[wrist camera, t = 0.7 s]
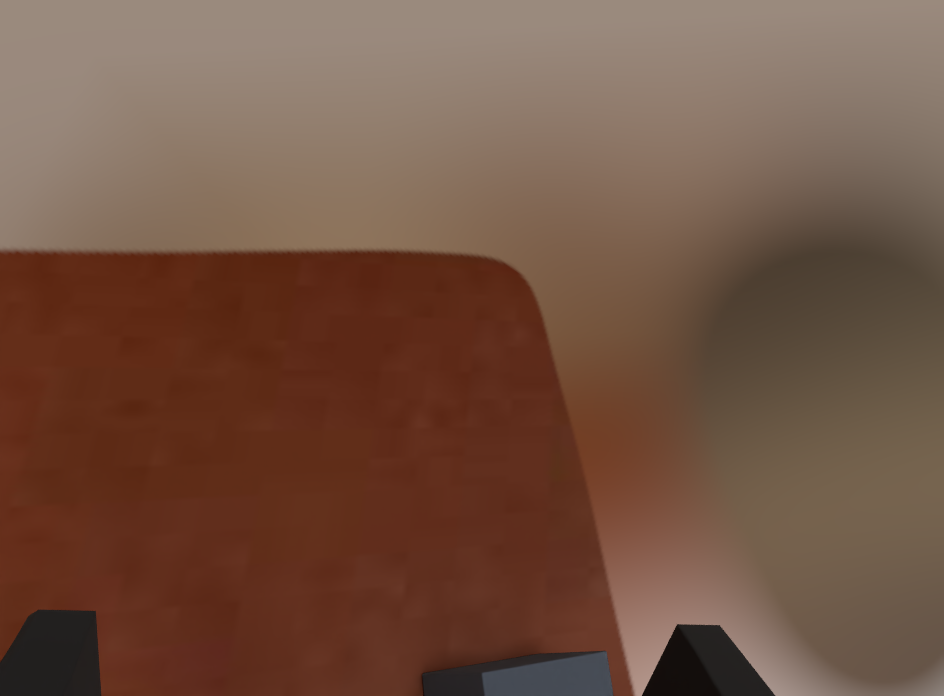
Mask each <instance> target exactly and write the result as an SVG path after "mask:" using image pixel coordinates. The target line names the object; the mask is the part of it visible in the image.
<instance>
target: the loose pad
mask: <svg viewBox="0 0 944 696" xmlns="http://www.w3.org/2000/svg"><path fill="white" fill-rule="evenodd" d="M422 677H423V687H424V696H613V689H612V683H611V677H610V671H609V664H608V658H607V652H606V651H593V652H570V653H547V654H535V655H529V656H523V657H517V658H511V659H505V660H499V661H493V662H487V663H481V664H475V665H470V666H464V667H458V668H452V669H446V670H440V671H434V672H428V673H423V674H422Z"/></svg>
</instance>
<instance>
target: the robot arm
mask: <svg viewBox="0 0 944 696" xmlns="http://www.w3.org/2000/svg"><path fill="white" fill-rule="evenodd" d="M0 696H101V685H100V670H99V654H98V639H97V624H96V611H70V610H37V611H36V612H34V613H33V614H31V615H30V616H28V618H27V620H26V621H25V623H24V625H23V626H22V628H21V630H20V631H19V633H18V635H17V637H16V638H15V640H14V642H13V643H12V645H11V646H10V648H9V650H8V651H7V653H6V654H5V656H4V658H3V659H2V661H1V662H0ZM642 696H775V695H774V694H773V692H772V691H771V690H770V688H769V687H768V686H767V685H766V684H765V682H764V681H763V680H762V678H761V677H760V676H759V675H758V673H757V672H756V671H755V669H754V668H753V667H752V666H751V664H750V663H749V662H748V660H747V659H746V658H745V657H744V655H743V654H742V653H741V652H740V650H739V649H738V648H737V647H736V645H735V644H734V643H733V642H732V640H731V639H730V638H729V637H728V635H727V634H726V633H725V632H724V630H723V629H722V628H721V627H720V625H679V624H678V625H677V626H676V628H675V630H674V632H673V634H672V636H671V638H670V640H669V642H668V644H667V646H666V648H665V650H664V652H663V654H662V656H661V658H660V660H659V662H658V664H657V666H656V668H655V670H654V672H653V674H652V676H651V678H650V680H649V682H648V684H647V686H646V688H645V690H644V692H643V695H642Z"/></svg>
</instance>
